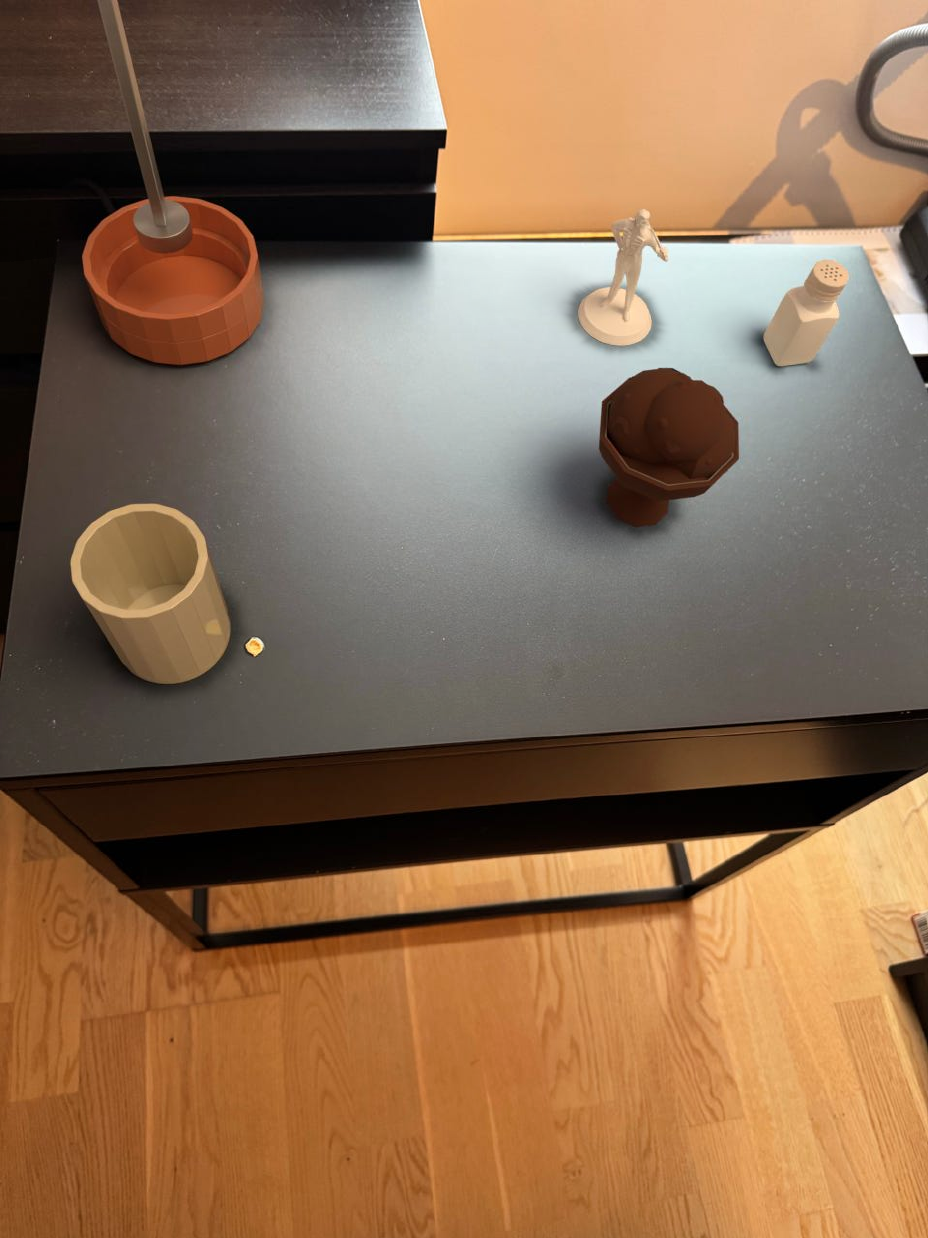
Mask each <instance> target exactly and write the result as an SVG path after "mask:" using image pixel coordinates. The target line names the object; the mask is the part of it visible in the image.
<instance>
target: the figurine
mask: <svg viewBox="0 0 928 1238" xmlns="http://www.w3.org/2000/svg"><path fill="white" fill-rule="evenodd" d="M650 216H651V213H650V211H649V210H647V209H645V208H641V209H640V210H638V211H637V213H636V215H634V216H633V217H627V218H622V219H618V220H615V221H614V222H613V223H611V233H612V235H613V238H614V240H615V243H616V245H617V247H618V250H617V252H616V258H615V265H614V266H615V267H614V274H613V278H612V281H611V285H610V286H606V287H601V288H599V289H596V290H594V291H592V292H591V293H589V294H587V295H586V296H585V297H584V298H583V299H582V300H581V302H580V304H578V305H579V306H578V309H577V317H578V321H579V324H580V326H581V328H583V330H584V331H585V332H586V334H588V335H590V336H591V337H592V338H593V339H595V340H596V341H599V342H601V343H604V344H606V345H611V346H619V347H621V346H623V347H625V346H630V345H634V344H637V343H639V342H640V341H642V340H643V339H645V338H646V337H647V336H648V335H649V333H650V331H651V329H652V325H653V324H652V323H653V321H652V316H651V312H650V310H649V308H648V306H647V304H646V302H644V300H643V299H642V298H641V297H640V296H638V295H637V294H636V289H637V286H638V283H639V279H640V276H641V270H642V262H643V257H642V256H643V249H644V248H645V247H650V248H651V249H652V250H653V252H654V253H655V254H656V255H657V257H658V258H660V259H661V260H662V261H663V262H666V263H667V262H668V261H669V249H668V248H667V247H666V246H662V244H661V241H660V239H659V237H658V235H657V233H656V231H655V230H654V229H653V227H652V226H651V224H650V222H649V220H650ZM621 232H622V235H621ZM624 278H625V279H626V288H622V287H621V286H622V284H623V282H624V281H623V280H624Z"/></svg>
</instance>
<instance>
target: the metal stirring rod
mask: <svg viewBox="0 0 928 1238" xmlns="http://www.w3.org/2000/svg"><path fill="white" fill-rule="evenodd" d="M96 1H97V4H98V8H99V12H100V15H101V16H100V17H101V20H102V23H103V28H104V31H105V35H106V39H107V43H108V47H109V52H110V55H111V59H112V62H113V66H114V70H115V74H116V78H117V82H118V85H119V90H120V93H121V97H122V101H123V105H124V109H125V113H126V117H127V120H128V125H129V129H130V132H131V136H132V140H133V144H134V149H135V152H136V156H137V160H138V164H139V166H140V171H141V176H142V179H143V183H144V188H145V190H146V194H147V199H149V202H148V203H145V204H144V205H142V206H141V207H140V208H138V210H137V211H136V212H135V214H134V218H133V222H134V226H135V229H136V233H137V236H138V240H139V242H140V243H141V245H142V246H143V247H145V248H146V249H148V250H150V251H152V252H155V253H161V254H167V253H174V252H177V251H180V250H182V249H183V248H185V247H186V246H187V245H188V244H189V243H190V242H191V240H192V237H193V231H192V226H191V221H190V217H189V213H188V211H187V210H186V209H185V208H184V207H183V206H182V205H181V204H179V203H177V202H174V201H170V200H165V199H164V197H165V195H164V190H163V187H162V182H161V178H160V174H159V169H158V166H157V161H156V156H155V152H154V148H153V144H152V141H151V140H152V139H151V136H150V132H149V128H148V123H147V121H146V115H145V111H144V107H143V103H142V99H141V95H140V91H139V86H138V82H137V78H136V77H137V76H136V73H135V70H134V66H133V60H132V56H131V53H130V48H129V44H128V40H127V36H126V32H125V27H124V23H123V20H122V15H121V10H120V6H119V1H118V0H96Z"/></svg>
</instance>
